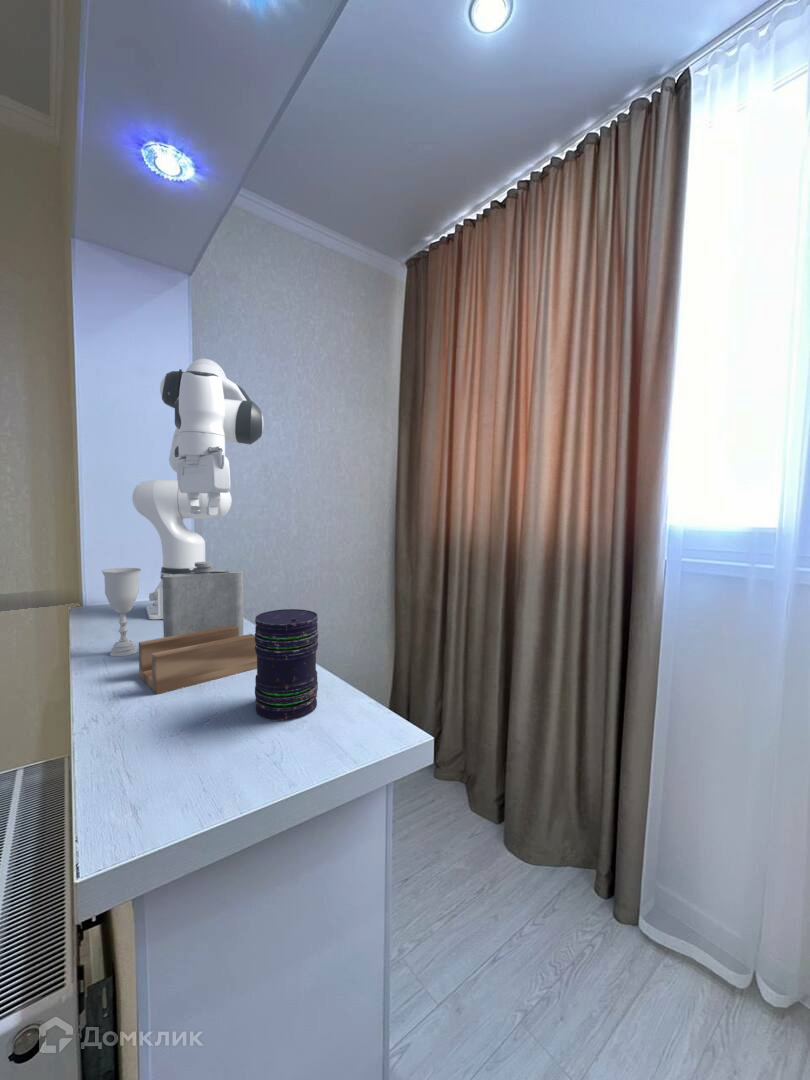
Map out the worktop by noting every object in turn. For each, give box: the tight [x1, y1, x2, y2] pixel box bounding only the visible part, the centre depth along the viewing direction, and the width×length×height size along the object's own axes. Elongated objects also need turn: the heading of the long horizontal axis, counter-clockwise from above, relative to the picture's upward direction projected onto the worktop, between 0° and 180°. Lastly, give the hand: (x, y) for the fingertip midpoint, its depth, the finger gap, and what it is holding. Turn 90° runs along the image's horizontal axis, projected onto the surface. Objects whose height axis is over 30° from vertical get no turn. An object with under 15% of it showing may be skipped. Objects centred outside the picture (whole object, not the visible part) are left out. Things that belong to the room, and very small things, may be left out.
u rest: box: [138, 625, 257, 695], centre depth 84 cm, size 11×18×6 cm, turn 135°
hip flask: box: [162, 561, 244, 638], centre depth 94 cm, size 16×4×20 cm, turn 124°
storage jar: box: [254, 608, 319, 722], centre depth 70 cm, size 10×10×15 cm
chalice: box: [101, 567, 142, 657], centre depth 93 cm, size 7×7×18 cm
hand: (203, 514), depth 93 cm, fingers open, 8 cm apart
